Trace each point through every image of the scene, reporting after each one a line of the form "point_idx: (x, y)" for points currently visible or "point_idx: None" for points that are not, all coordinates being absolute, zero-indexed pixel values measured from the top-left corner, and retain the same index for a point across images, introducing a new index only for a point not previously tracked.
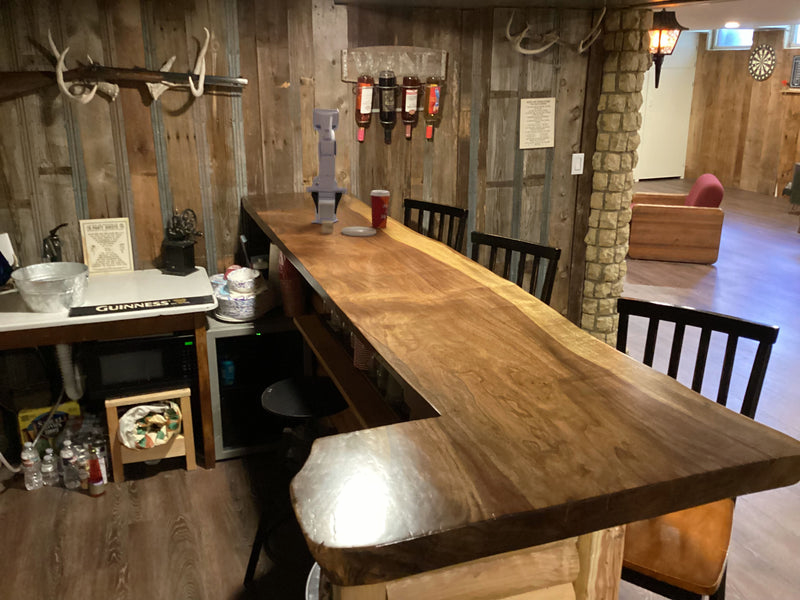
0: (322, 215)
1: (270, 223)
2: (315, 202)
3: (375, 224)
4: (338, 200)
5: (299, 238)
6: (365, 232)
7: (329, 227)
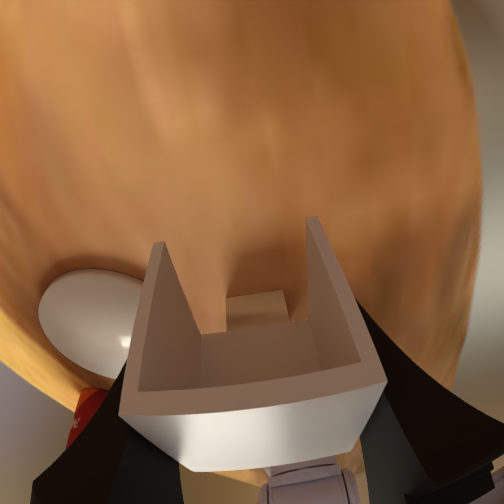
0: (292, 333)
1: (457, 341)
2: (417, 380)
3: (102, 400)
4: (78, 453)
5: (395, 130)
6: (63, 310)
7: (244, 318)
